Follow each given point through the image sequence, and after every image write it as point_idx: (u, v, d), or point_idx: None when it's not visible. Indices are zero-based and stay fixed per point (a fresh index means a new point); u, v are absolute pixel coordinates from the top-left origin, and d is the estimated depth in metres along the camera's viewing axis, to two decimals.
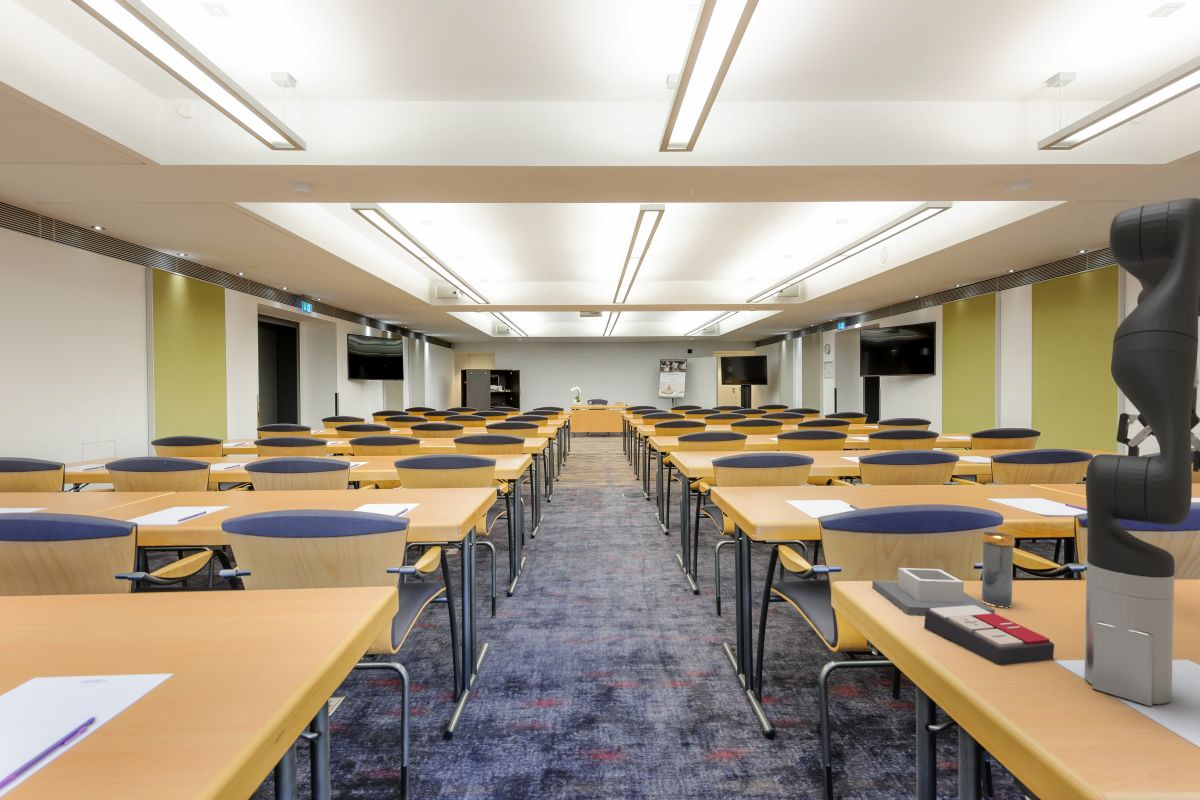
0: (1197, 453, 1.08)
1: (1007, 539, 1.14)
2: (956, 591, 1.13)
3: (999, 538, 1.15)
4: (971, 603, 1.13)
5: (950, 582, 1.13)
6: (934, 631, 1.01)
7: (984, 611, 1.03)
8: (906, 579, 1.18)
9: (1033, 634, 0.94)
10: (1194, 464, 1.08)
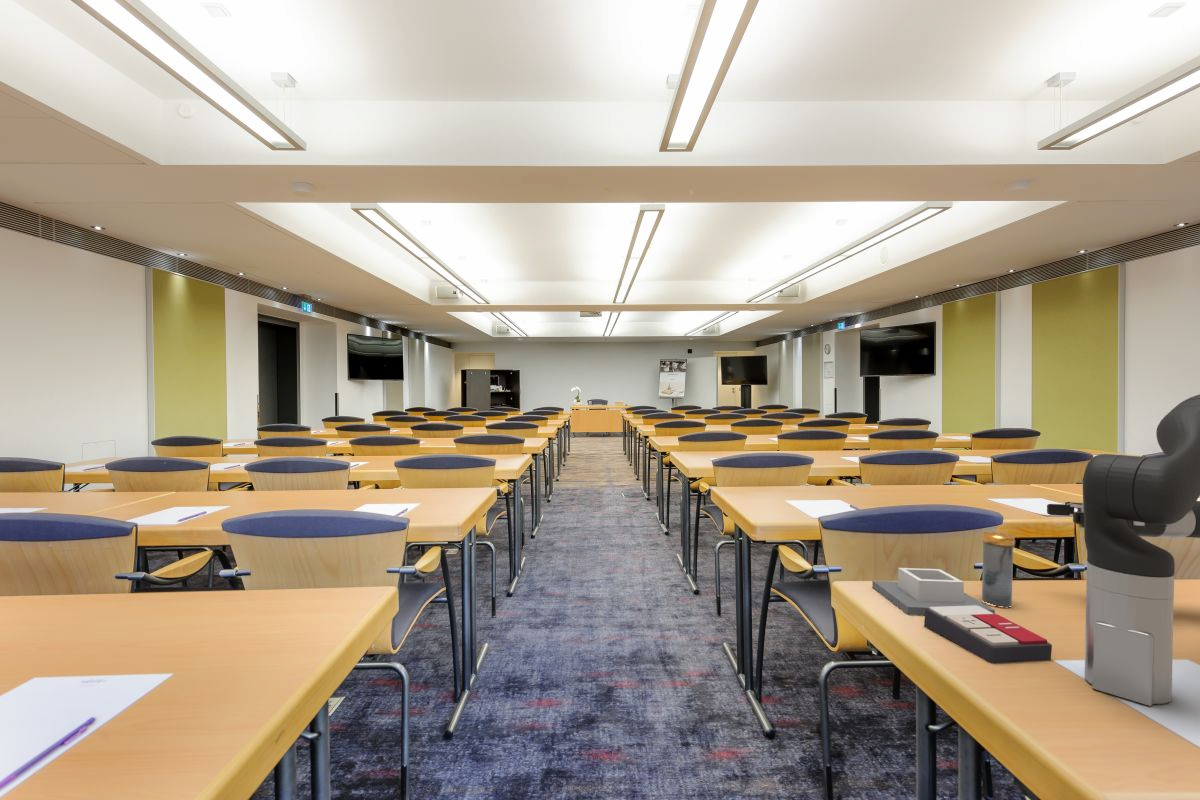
0: None
1: (1007, 539, 1.14)
2: (956, 591, 1.13)
3: (999, 538, 1.15)
4: (971, 603, 1.13)
5: (950, 582, 1.13)
6: (933, 629, 1.02)
7: (986, 611, 1.03)
8: (906, 579, 1.18)
9: (1031, 634, 0.93)
10: (1081, 512, 1.11)
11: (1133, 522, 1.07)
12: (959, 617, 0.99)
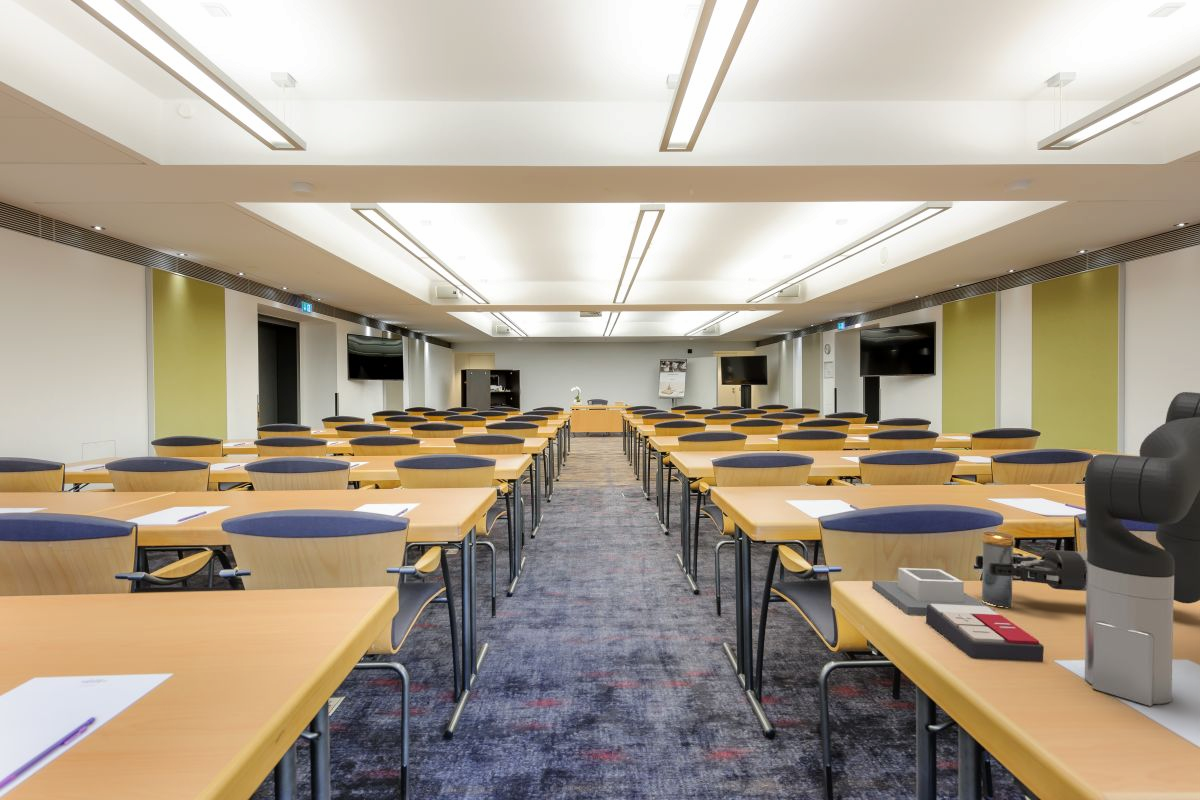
0: (1009, 564, 1.14)
1: (1007, 539, 1.14)
2: (956, 591, 1.13)
3: (999, 538, 1.15)
4: (971, 603, 1.13)
5: (950, 582, 1.13)
6: (931, 625, 1.04)
7: (991, 612, 1.02)
8: (906, 579, 1.18)
9: (1024, 635, 0.93)
10: (996, 563, 1.15)
11: (1045, 576, 1.10)
12: (955, 614, 1.01)
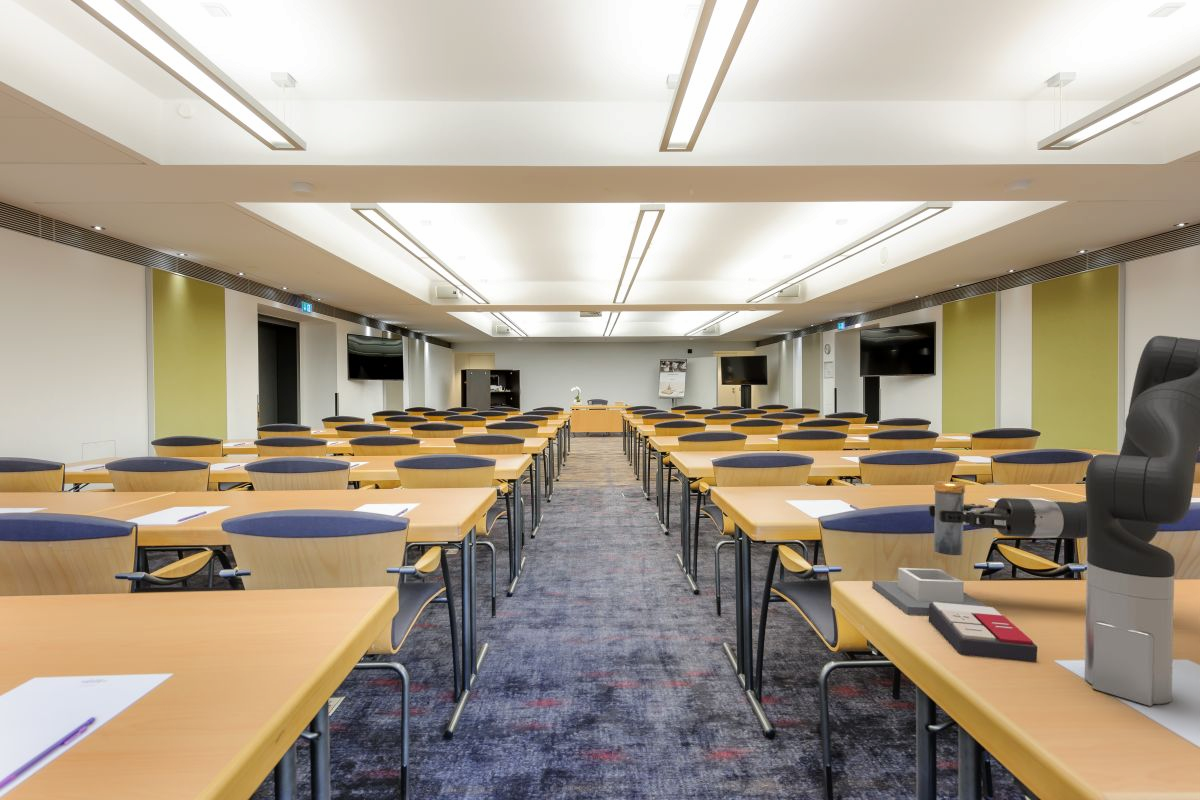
0: (959, 511, 1.14)
1: (957, 486, 1.15)
2: (956, 591, 1.13)
3: (949, 486, 1.15)
4: (971, 603, 1.13)
5: (950, 582, 1.13)
6: (932, 623, 1.05)
7: (995, 613, 1.02)
8: (906, 579, 1.18)
9: (1019, 635, 0.93)
10: None
11: (993, 521, 1.10)
12: (954, 613, 1.01)
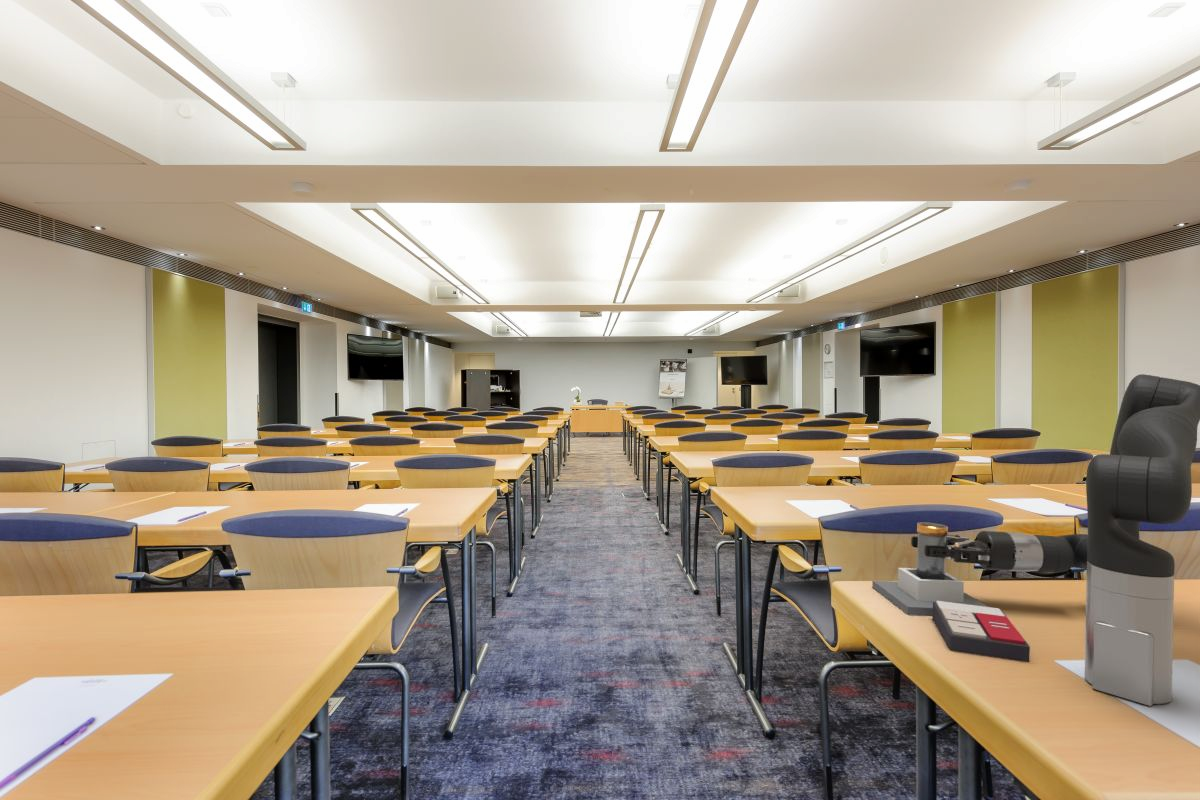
0: (944, 546, 1.14)
1: (939, 529, 1.15)
2: (956, 591, 1.13)
3: (931, 528, 1.15)
4: (971, 603, 1.13)
5: (950, 582, 1.13)
6: (934, 621, 1.06)
7: (998, 613, 1.02)
8: (906, 579, 1.18)
9: (1013, 635, 0.93)
10: (931, 545, 1.14)
11: (977, 557, 1.10)
12: (953, 611, 1.02)
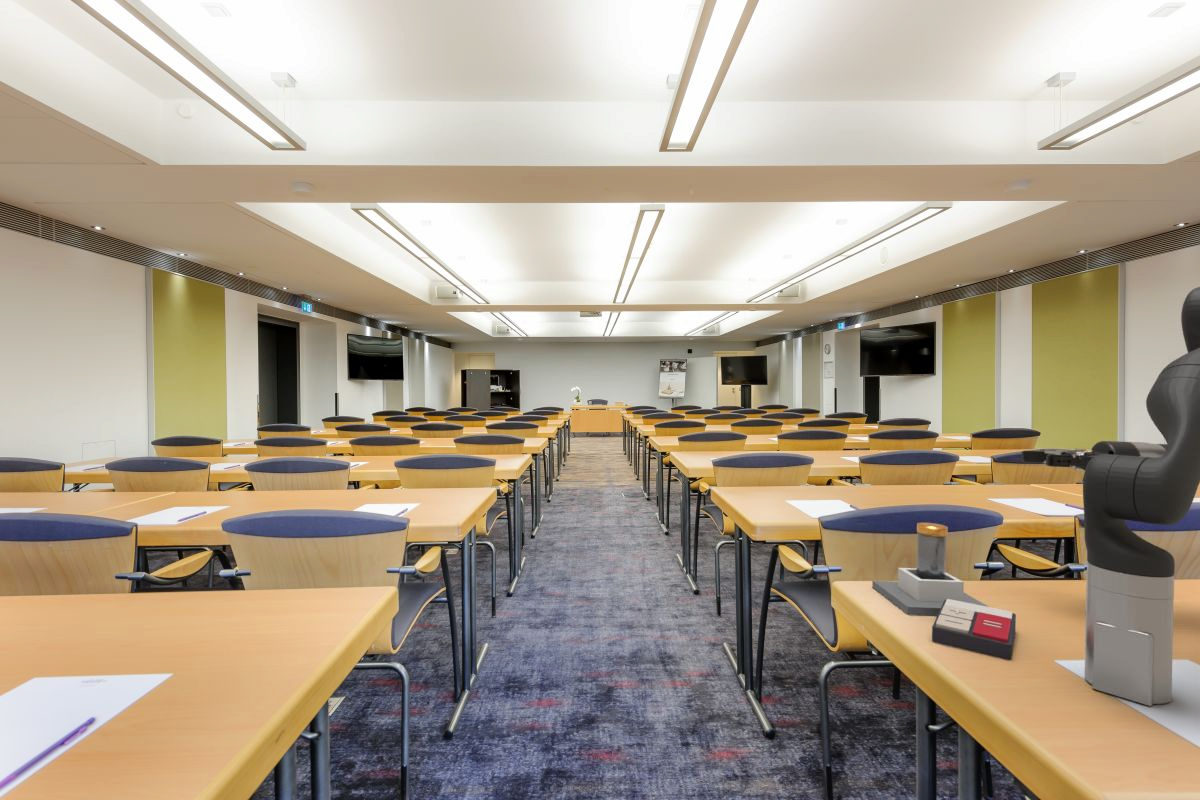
0: (1068, 455, 1.08)
1: (939, 530, 1.15)
2: (956, 591, 1.13)
3: (931, 529, 1.15)
4: (971, 603, 1.13)
5: (950, 582, 1.13)
6: None
7: (1006, 615, 1.01)
8: (906, 579, 1.18)
9: (999, 633, 0.94)
10: (1054, 454, 1.09)
11: None
12: (955, 608, 1.04)
